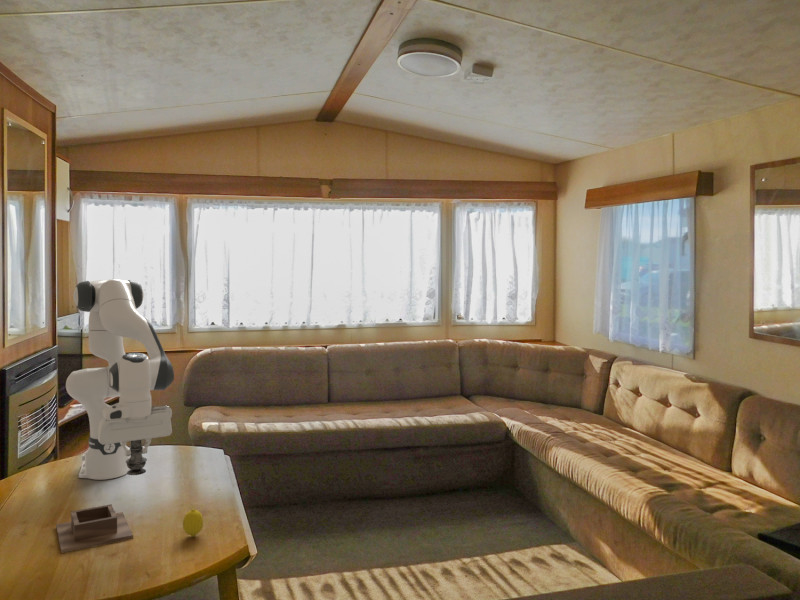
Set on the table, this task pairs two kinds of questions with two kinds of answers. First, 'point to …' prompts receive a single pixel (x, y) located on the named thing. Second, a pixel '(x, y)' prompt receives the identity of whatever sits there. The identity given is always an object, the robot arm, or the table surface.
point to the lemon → (193, 522)
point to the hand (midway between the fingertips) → (136, 454)
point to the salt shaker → (136, 459)
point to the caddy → (93, 528)
